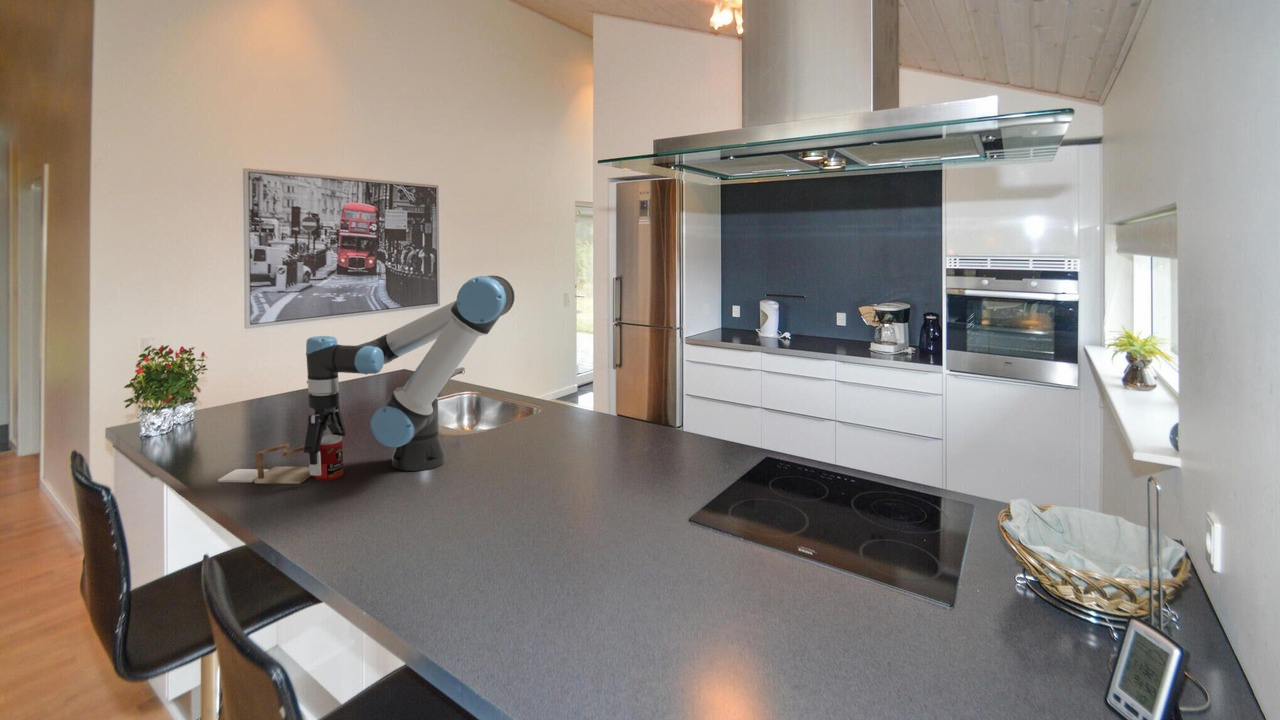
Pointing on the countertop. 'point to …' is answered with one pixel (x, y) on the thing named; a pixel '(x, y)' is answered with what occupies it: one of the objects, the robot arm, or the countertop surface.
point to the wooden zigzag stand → (281, 469)
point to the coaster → (241, 475)
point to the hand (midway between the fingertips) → (326, 466)
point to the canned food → (331, 458)
